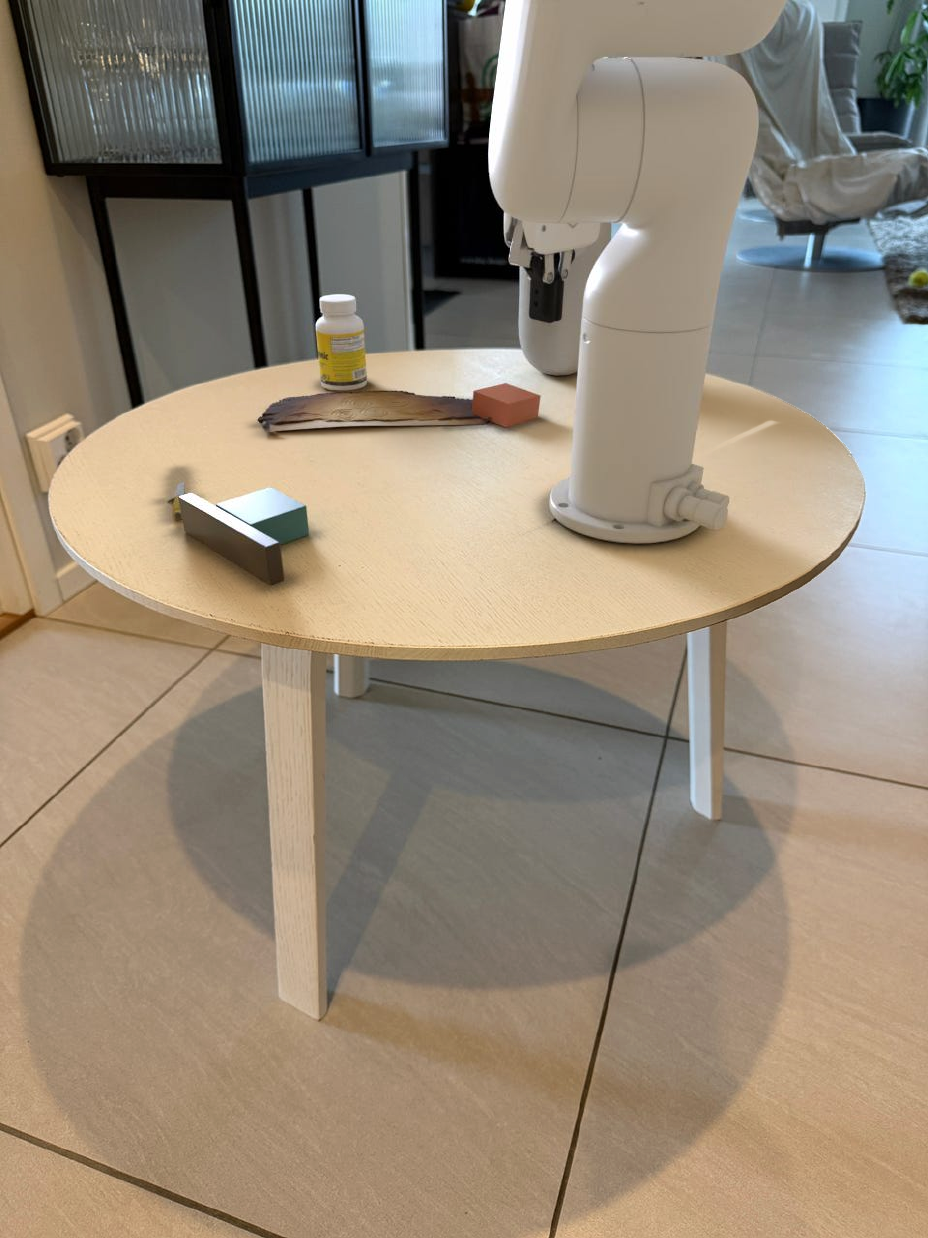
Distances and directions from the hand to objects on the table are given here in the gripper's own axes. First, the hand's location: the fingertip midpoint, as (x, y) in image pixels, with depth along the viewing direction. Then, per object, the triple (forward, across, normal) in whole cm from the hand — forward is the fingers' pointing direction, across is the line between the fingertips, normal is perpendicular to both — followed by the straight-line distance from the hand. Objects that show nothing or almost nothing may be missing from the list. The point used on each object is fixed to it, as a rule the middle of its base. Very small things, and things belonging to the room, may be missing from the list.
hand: (545, 319), depth 91 cm
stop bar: (+8, -44, -8) cm, 45 cm away
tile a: (+8, -40, -6) cm, 42 cm away
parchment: (+9, -16, +9) cm, 20 cm away
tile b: (+9, -6, -1) cm, 11 cm away
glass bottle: (+10, +10, +6) cm, 16 cm away
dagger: (+9, -41, +5) cm, 42 cm away
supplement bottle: (+10, -11, +20) cm, 25 cm away
